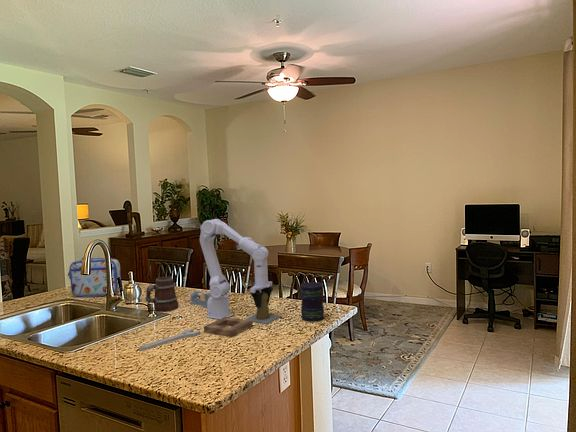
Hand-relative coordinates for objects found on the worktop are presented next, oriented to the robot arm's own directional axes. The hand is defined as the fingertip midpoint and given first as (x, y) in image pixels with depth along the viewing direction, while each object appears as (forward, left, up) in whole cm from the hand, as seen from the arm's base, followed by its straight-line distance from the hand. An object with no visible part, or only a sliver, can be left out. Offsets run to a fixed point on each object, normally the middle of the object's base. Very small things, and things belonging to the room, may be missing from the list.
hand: (262, 305), depth 188 cm
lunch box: (-112, -1, -6) cm, 112 cm away
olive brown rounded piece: (0, 0, -6) cm, 6 cm away
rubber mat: (0, 0, -6) cm, 6 cm away
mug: (-54, -7, -6) cm, 55 cm away
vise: (-42, +10, -6) cm, 44 cm away
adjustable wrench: (-18, -38, -6) cm, 42 cm away
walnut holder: (-5, -18, -6) cm, 20 cm away
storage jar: (+20, +9, -6) cm, 23 cm away
